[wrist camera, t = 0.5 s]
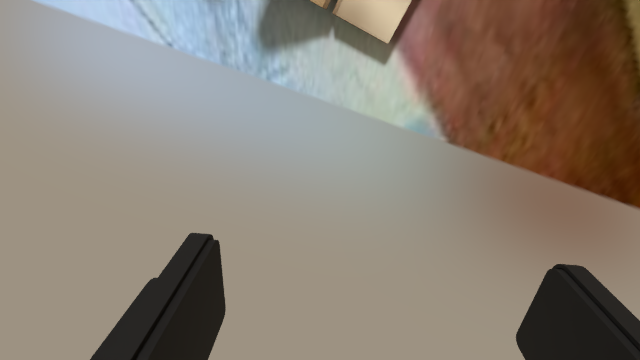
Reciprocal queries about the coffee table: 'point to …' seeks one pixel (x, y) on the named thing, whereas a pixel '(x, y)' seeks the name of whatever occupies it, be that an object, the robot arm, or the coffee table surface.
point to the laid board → (373, 15)
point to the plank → (321, 3)
